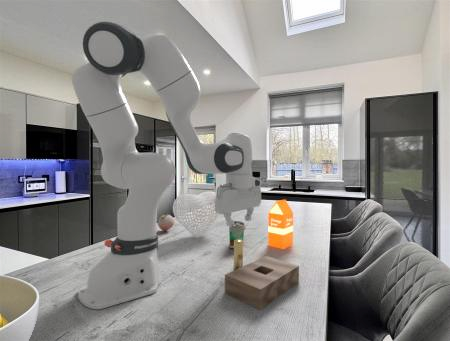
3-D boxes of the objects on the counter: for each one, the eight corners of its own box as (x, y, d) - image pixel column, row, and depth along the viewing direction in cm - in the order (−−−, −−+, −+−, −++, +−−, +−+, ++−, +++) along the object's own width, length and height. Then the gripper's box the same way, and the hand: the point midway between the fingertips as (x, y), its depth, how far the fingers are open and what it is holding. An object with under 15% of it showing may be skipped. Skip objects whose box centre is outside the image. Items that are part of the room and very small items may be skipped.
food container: (243, 251, 102) (243, 227, 102) (229, 250, 104) (229, 226, 103) (247, 242, 114) (247, 221, 114) (233, 241, 116) (234, 220, 116)
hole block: (260, 309, 61) (260, 289, 61) (224, 292, 69) (224, 274, 69) (298, 282, 76) (298, 265, 75) (265, 270, 84) (265, 256, 84)
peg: (238, 272, 82) (238, 242, 82) (232, 270, 84) (232, 240, 84) (244, 270, 84) (244, 240, 84) (237, 267, 86) (237, 238, 86)
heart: (187, 247, 107) (188, 196, 107) (165, 240, 117) (165, 193, 117) (229, 234, 128) (229, 191, 128) (207, 229, 138) (207, 189, 138)
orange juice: (293, 244, 112) (293, 200, 112) (283, 249, 106) (284, 202, 105) (277, 240, 118) (278, 198, 117) (267, 245, 111) (268, 200, 111)
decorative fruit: (171, 233, 129) (171, 214, 129) (156, 233, 129) (156, 214, 129) (175, 229, 138) (175, 211, 138) (161, 229, 138) (161, 211, 138)
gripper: (224, 185, 74) (224, 231, 75) (264, 180, 89) (264, 219, 89) (210, 184, 78) (210, 227, 79) (250, 180, 93) (250, 216, 94)
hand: (239, 223), depth 84 cm, fingers open, 8 cm apart
